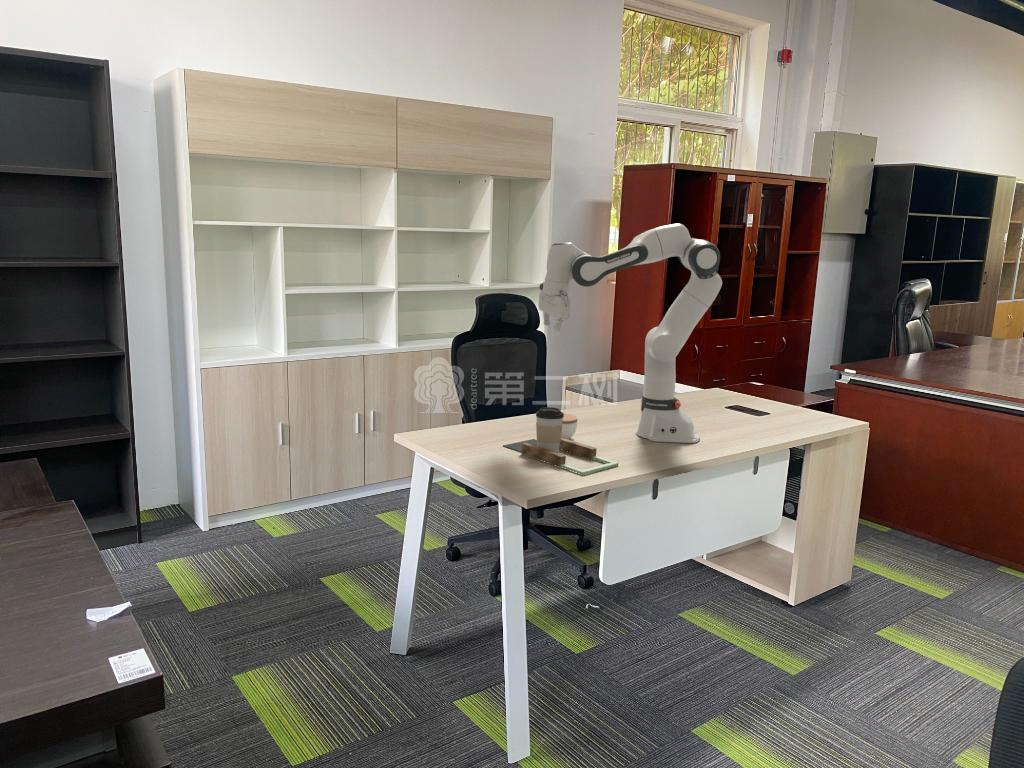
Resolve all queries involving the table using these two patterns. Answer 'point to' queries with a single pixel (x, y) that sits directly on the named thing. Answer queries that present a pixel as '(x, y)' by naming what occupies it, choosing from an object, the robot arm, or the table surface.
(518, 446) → the mat
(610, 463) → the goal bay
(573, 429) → the lidded jar
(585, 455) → the channel
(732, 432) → the table surface
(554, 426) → the coffee cup
